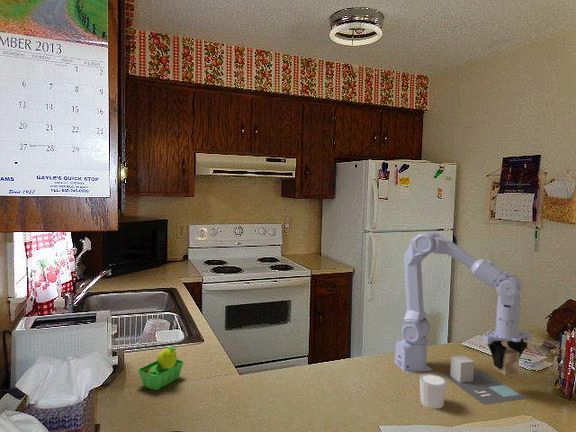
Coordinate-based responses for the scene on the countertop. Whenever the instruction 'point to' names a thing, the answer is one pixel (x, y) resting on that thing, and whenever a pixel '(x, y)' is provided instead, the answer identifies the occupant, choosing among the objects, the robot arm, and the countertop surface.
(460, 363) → the grey block
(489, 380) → the mat
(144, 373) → the fruit basket
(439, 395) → the white tapered cylinder
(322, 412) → the countertop surface
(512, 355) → the maple block
